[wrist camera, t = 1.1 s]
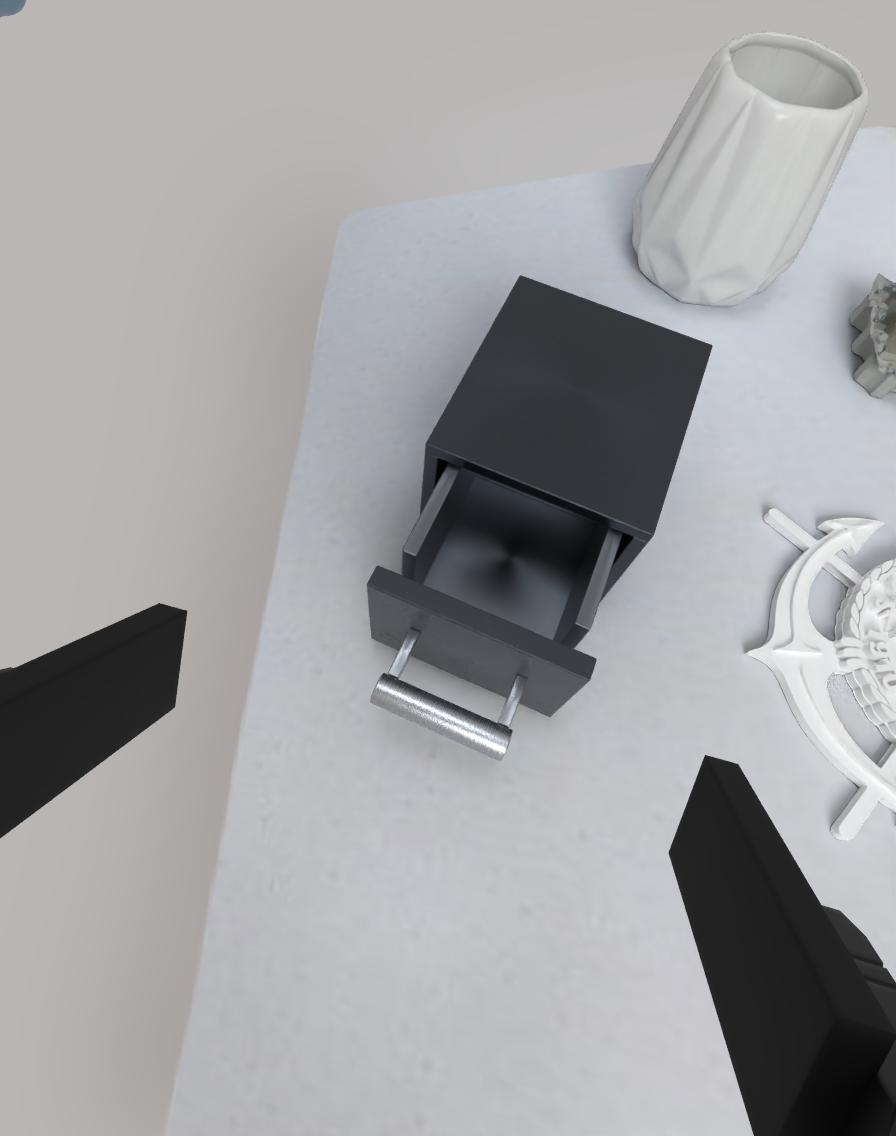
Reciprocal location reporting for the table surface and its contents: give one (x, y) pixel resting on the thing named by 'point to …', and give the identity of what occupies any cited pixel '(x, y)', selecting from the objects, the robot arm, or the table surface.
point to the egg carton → (877, 338)
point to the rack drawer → (490, 604)
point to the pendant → (838, 656)
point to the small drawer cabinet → (574, 411)
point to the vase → (747, 168)
